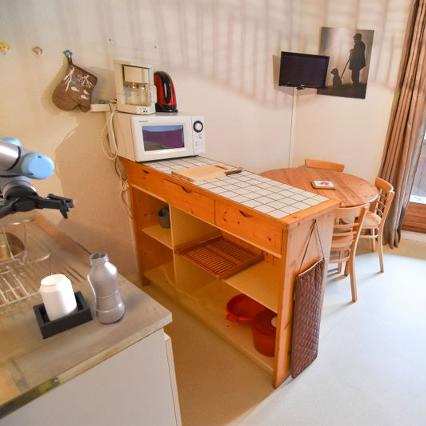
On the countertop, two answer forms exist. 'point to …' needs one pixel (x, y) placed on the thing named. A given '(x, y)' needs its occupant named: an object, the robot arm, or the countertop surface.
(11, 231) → the countertop surface
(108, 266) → the plastic bottle
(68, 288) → the beverage can
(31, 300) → the countertop surface
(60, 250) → the countertop surface
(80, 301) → the black tray
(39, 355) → the countertop surface
